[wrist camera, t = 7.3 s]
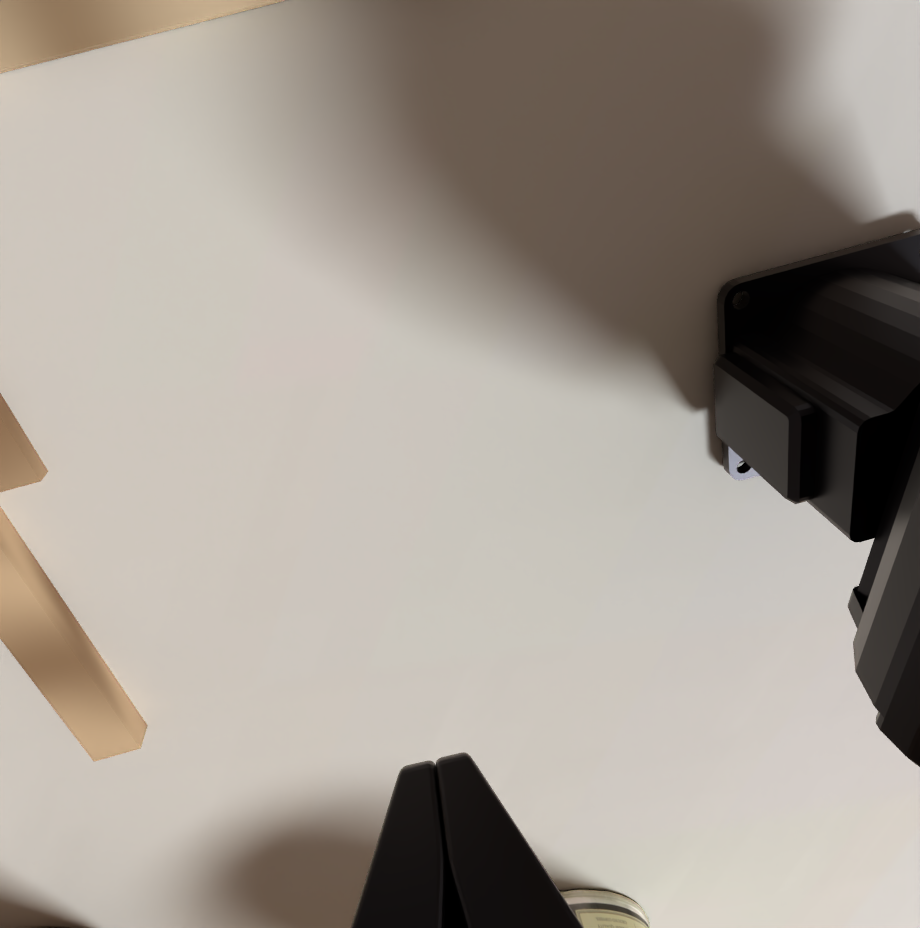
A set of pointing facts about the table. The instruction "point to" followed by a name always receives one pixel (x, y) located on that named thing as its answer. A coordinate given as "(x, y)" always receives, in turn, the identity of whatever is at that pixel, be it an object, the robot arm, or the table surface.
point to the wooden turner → (55, 626)
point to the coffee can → (605, 909)
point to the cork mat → (95, 24)
